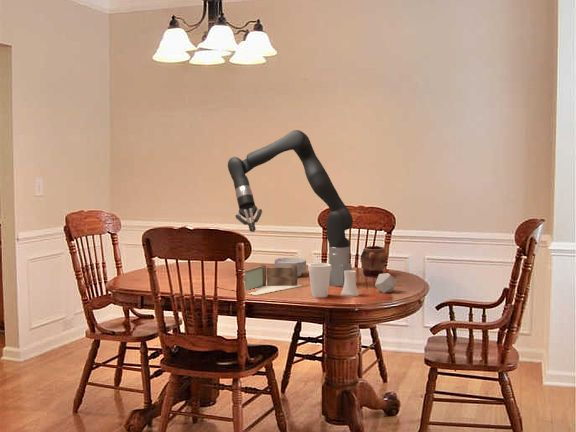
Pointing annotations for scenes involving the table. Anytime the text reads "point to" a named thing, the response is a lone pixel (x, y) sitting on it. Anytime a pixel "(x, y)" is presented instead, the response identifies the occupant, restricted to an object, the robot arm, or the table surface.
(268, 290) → the card
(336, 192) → the robot arm
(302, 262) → the paper bowls
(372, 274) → the decorative planter
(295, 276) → the fence post and fixed section
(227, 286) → the table surface
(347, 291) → the salt shaker
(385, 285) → the die
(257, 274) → the green rectangular panel
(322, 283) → the foam cup
